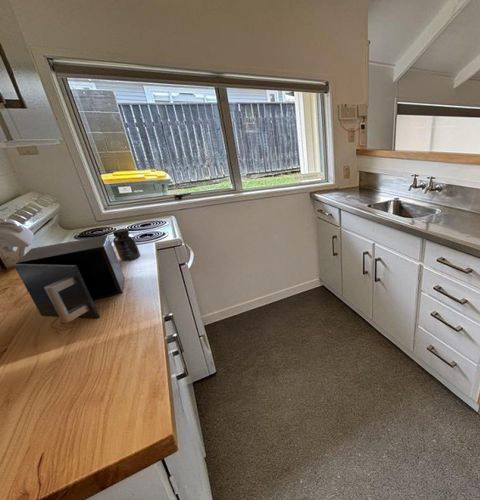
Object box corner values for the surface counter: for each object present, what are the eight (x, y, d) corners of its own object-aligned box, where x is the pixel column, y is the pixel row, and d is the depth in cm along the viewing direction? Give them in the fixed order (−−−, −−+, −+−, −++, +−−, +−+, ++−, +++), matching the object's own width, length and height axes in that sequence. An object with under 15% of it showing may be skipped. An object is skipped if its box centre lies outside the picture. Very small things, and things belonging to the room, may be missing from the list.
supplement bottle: (123, 256, 117) (112, 229, 113) (142, 253, 120) (133, 226, 115) (118, 262, 111) (106, 234, 107) (138, 259, 114) (128, 231, 109)
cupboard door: (75, 333, 71) (46, 277, 65) (15, 329, 73) (-18, 275, 67) (100, 317, 77) (76, 265, 71) (44, 314, 79) (17, 263, 73)
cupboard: (122, 293, 88) (103, 246, 82) (43, 314, 79) (15, 263, 73) (124, 278, 98) (108, 235, 92) (55, 295, 89) (31, 248, 83)
